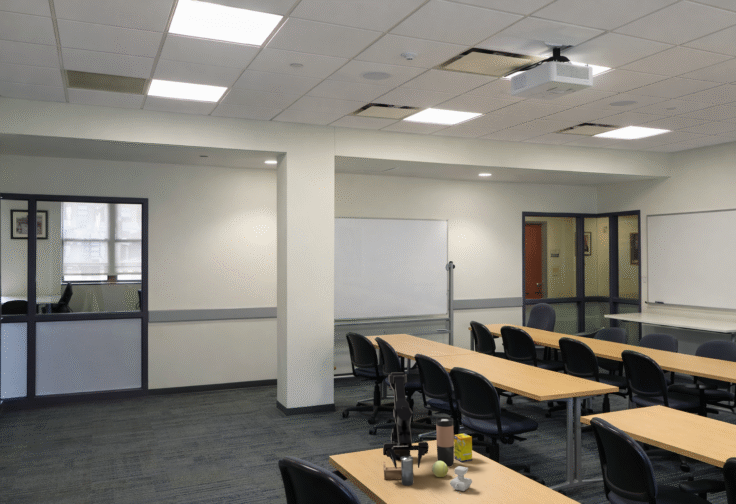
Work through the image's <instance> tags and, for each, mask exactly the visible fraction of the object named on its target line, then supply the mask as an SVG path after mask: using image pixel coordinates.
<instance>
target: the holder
mask: <svg viewBox="0 0 736 504" xmlns="http://www.w3.org/2000/svg"><path fill="white" fill-rule="evenodd" d="M382 463H383V464H382V465H383V477H384V480H386V481H387V480H402V479H401V466H397V469H396V468H395V466H391V467H390V466H388V467H386V461H383V462H382Z"/></svg>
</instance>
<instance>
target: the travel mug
mask: <svg viewBox="0 0 736 504" xmlns="http://www.w3.org/2000/svg"><path fill="white" fill-rule="evenodd" d="M435 423H436V425H435V426H436V428H435V429H436V455H437V456H436V457H437V461H443V462H444V463H446V465H447V467H448V468H449V467H453V466H454V465H455V458H454V435H455V433H454V418H452V417H450V416H440V417H437V418H436V422H435Z"/></svg>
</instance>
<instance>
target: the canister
mask: <svg viewBox="0 0 736 504" xmlns="http://www.w3.org/2000/svg"><path fill="white" fill-rule="evenodd" d="M400 467H401V479H400V480H401V485H402V486H408V487H409V486H413V485H414V456H412V455H410V456H402V457H401V460H400Z"/></svg>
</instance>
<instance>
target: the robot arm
mask: <svg viewBox="0 0 736 504" xmlns="http://www.w3.org/2000/svg"><path fill="white" fill-rule="evenodd" d="M407 376H408V374H405V373H404V371H403V372H402V371H400V372H399V371H396V372H394V371H393V372H391V373H390V374H388V383H389V385H390V386H389V387H390V388H391V390H392V391H393V399H394V400H393V402H394V403H393V404H394V408H393V410H392V411H393V418H394V426H393V427H392V429H391V432H390V442H385V443H383V445H382V455H383V456H386V457H387V458H389V459H390V460H391V462H392V464H393V467H395V468H396V469H397V467H398V465H397V461H401V457H402V456H411V451H417V468H418V469H419V468H420V466H421V462H422V461H421V460H422V457H423V456H425V455H427V454H428V453H429V447H430V446H429V443H428V442H427V441H418V443H417V444H416V445H413V439H412V432H411V431H412V430H411V423H412V422H411V421H412V418H413V416H414V412H413V411H412V408H410V404H409V402H408V401H407V400H406V391H405V387H406V384H407V383H408V377H407Z"/></svg>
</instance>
